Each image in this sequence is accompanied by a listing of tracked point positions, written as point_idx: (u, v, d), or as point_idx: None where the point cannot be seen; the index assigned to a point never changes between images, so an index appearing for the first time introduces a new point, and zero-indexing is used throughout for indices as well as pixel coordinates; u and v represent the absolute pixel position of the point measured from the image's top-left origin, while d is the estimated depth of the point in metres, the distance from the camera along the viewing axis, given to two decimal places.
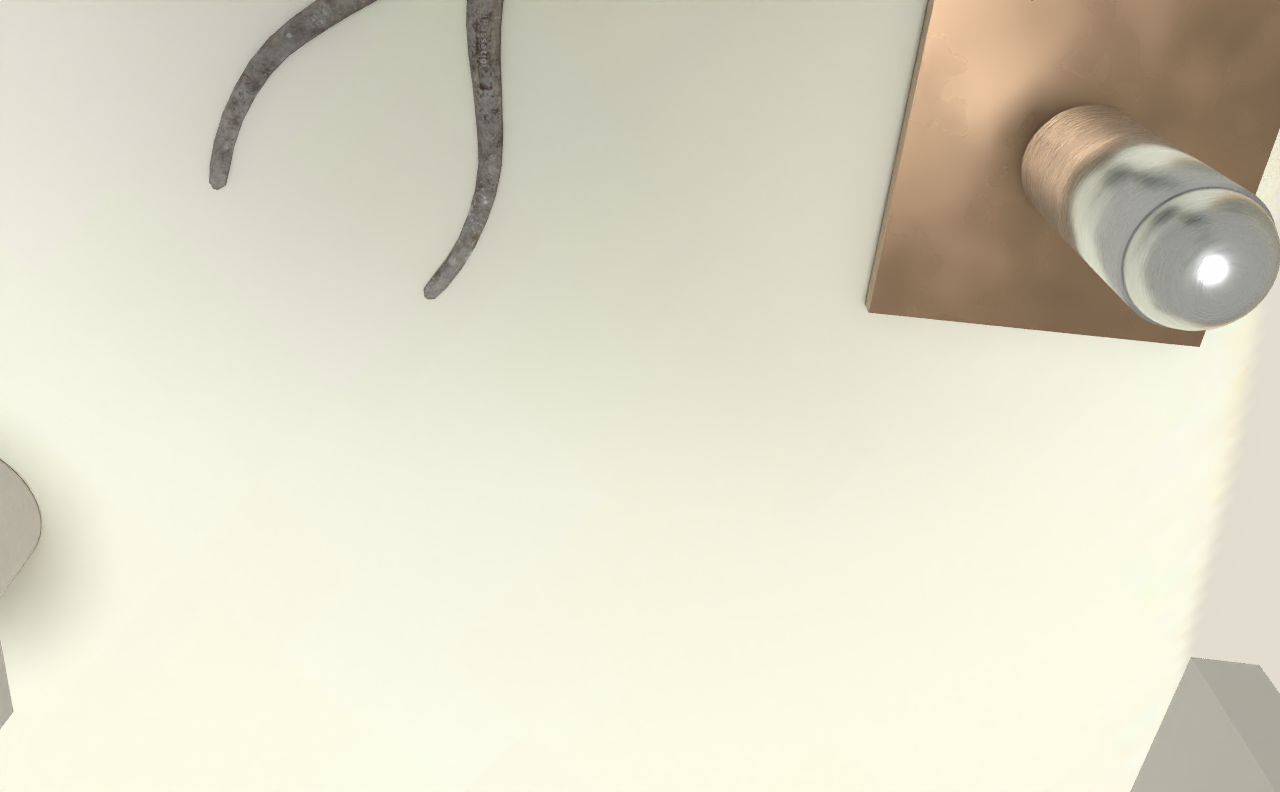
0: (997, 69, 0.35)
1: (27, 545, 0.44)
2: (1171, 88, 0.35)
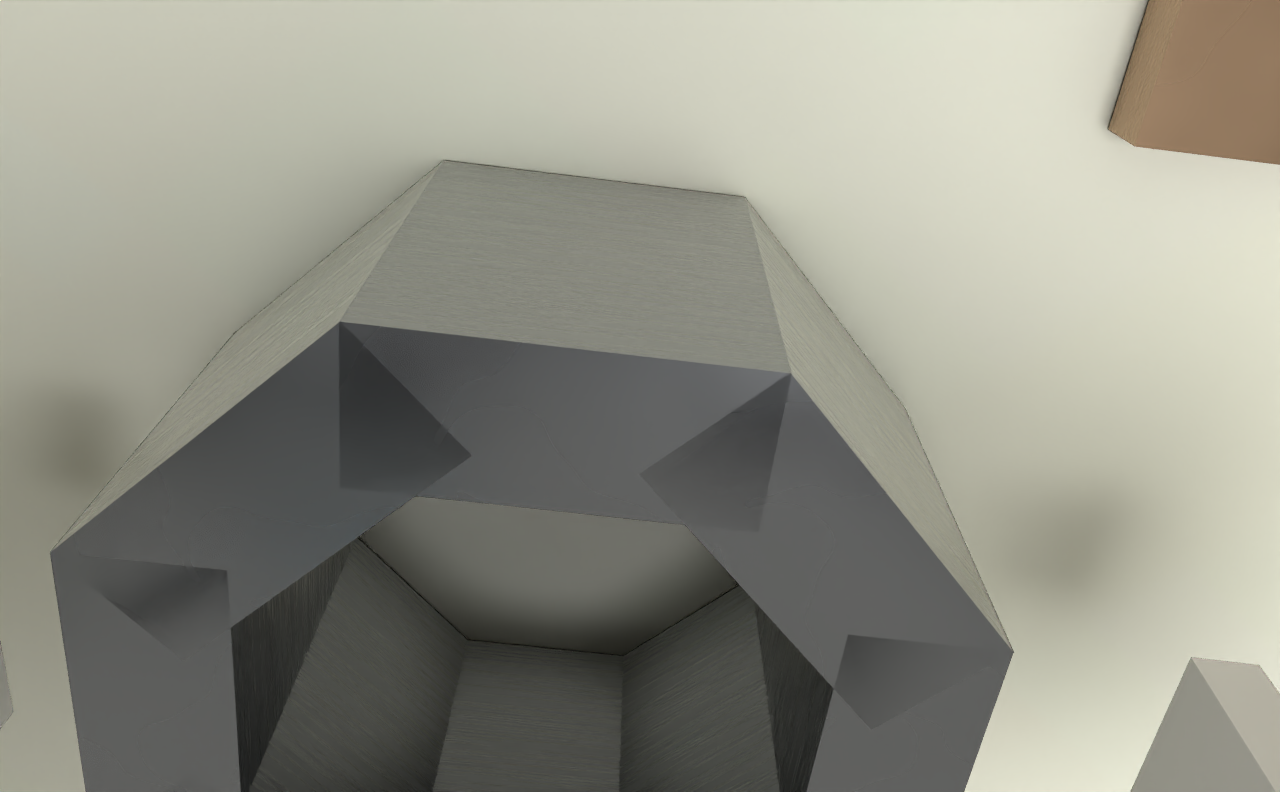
0: None
1: None
2: None
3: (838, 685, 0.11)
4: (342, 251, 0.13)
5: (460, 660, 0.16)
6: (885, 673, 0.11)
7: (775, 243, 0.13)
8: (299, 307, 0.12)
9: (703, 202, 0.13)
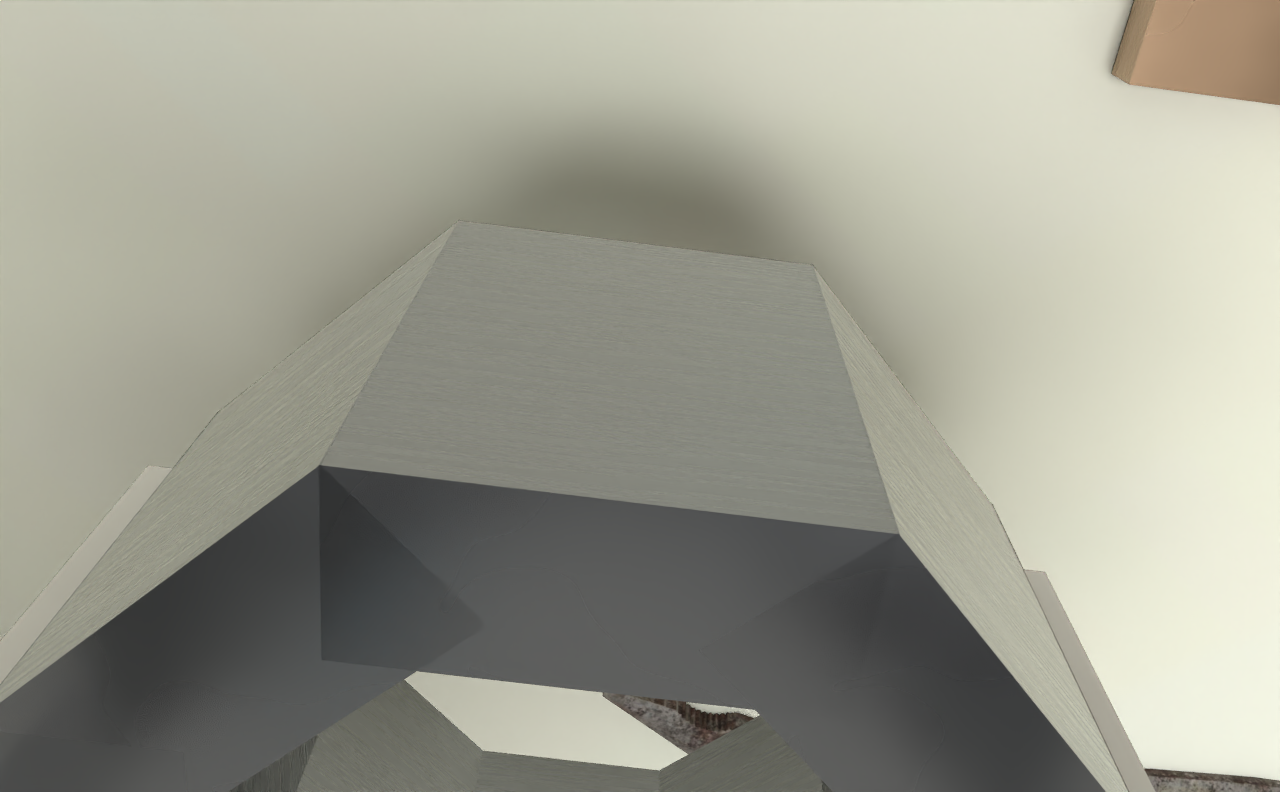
0: None
1: None
2: None
3: None
4: (339, 328, 0.11)
5: (475, 777, 0.14)
6: None
7: (848, 320, 0.11)
8: (283, 407, 0.10)
9: (765, 273, 0.11)
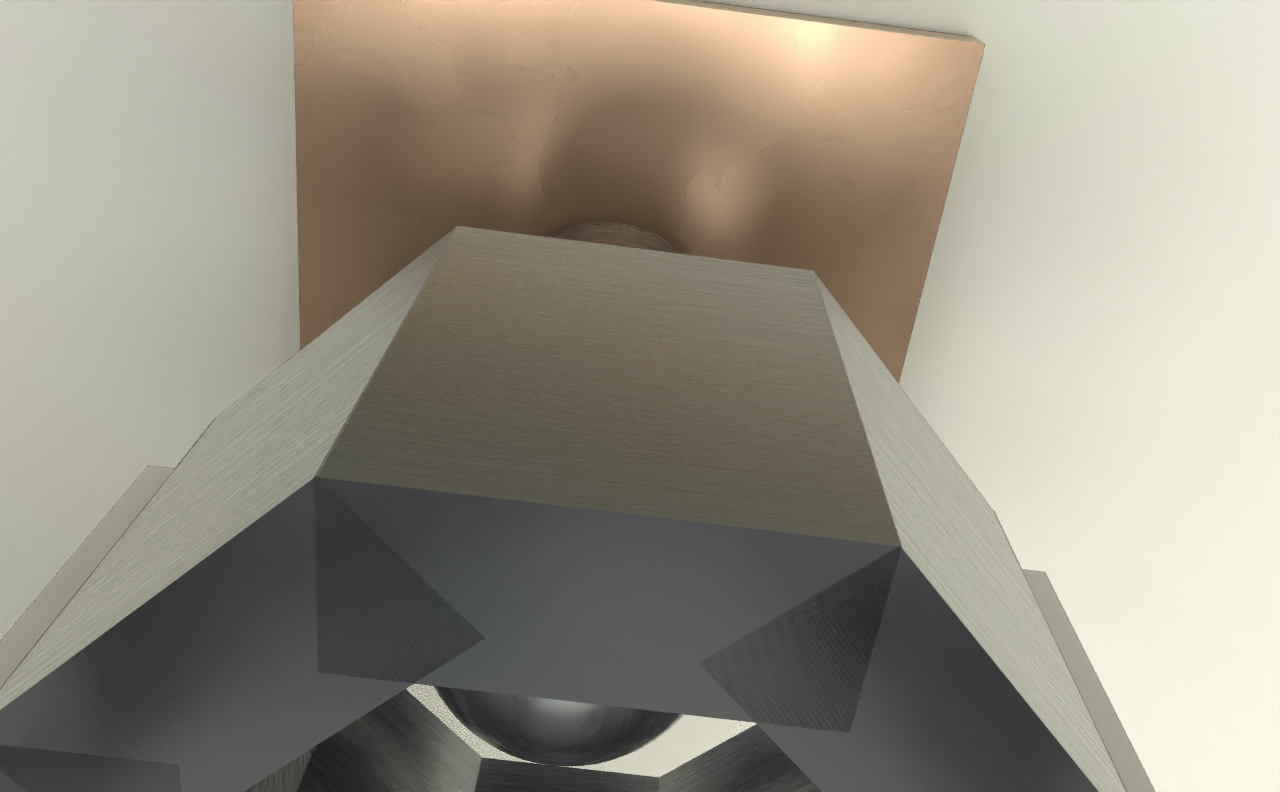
0: None
1: None
2: (470, 197, 0.20)
3: None
4: (336, 334, 0.11)
5: (473, 784, 0.14)
6: None
7: (849, 326, 0.11)
8: (279, 415, 0.10)
9: (766, 280, 0.11)
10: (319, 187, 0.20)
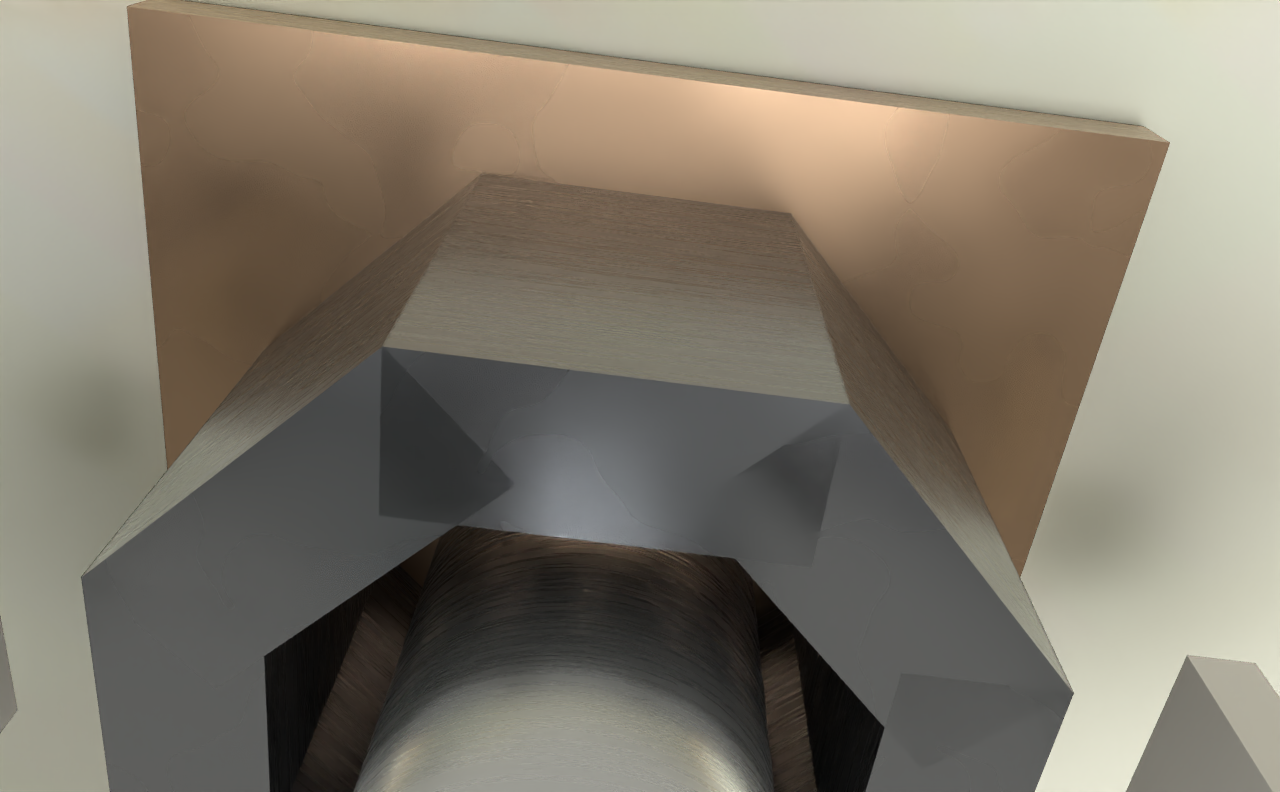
0: None
1: None
2: None
3: (890, 724, 0.10)
4: (378, 266, 0.13)
5: None
6: (939, 713, 0.10)
7: (822, 261, 0.13)
8: (336, 325, 0.11)
9: (749, 219, 0.13)
10: (187, 336, 0.14)
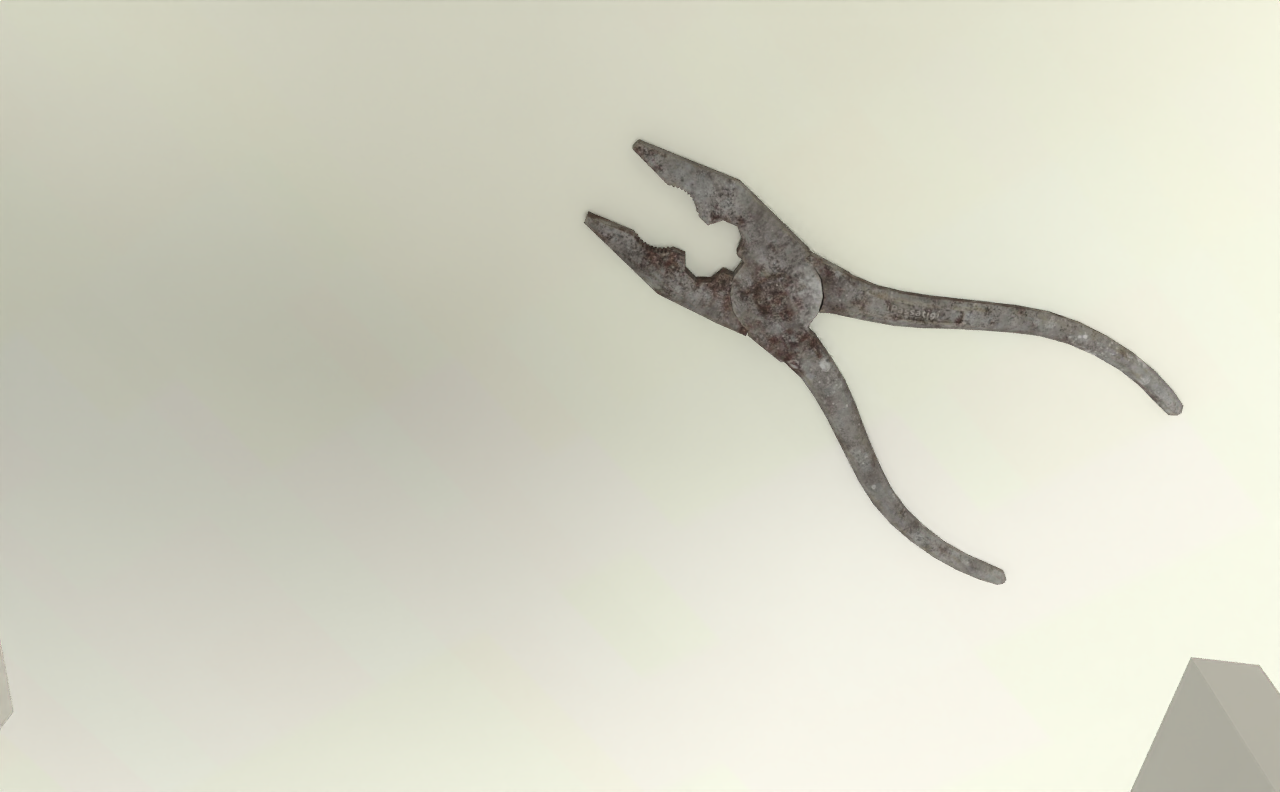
0: None
1: None
2: None
3: None
4: None
5: None
6: None
7: None
8: None
9: None
10: None
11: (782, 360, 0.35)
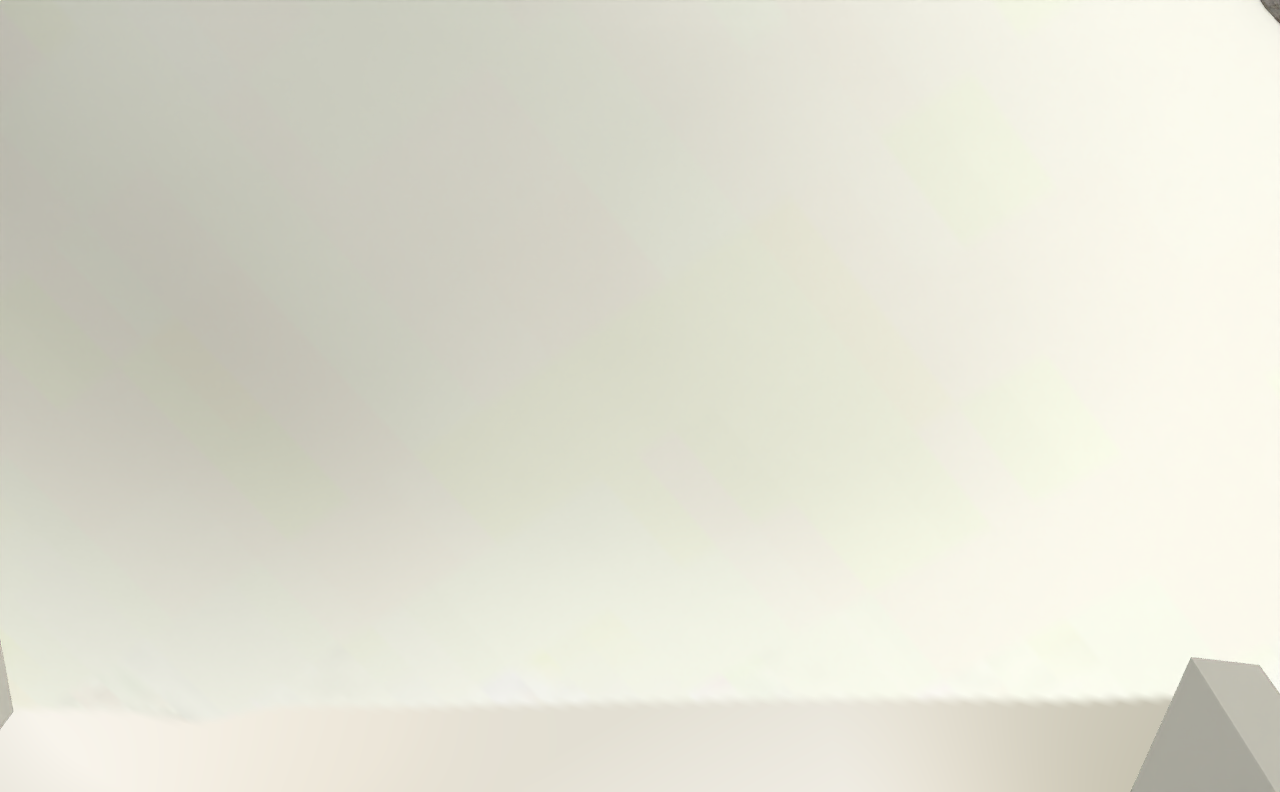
0: None
1: None
2: None
3: None
4: None
5: None
6: None
7: None
8: None
9: None
10: None
11: None
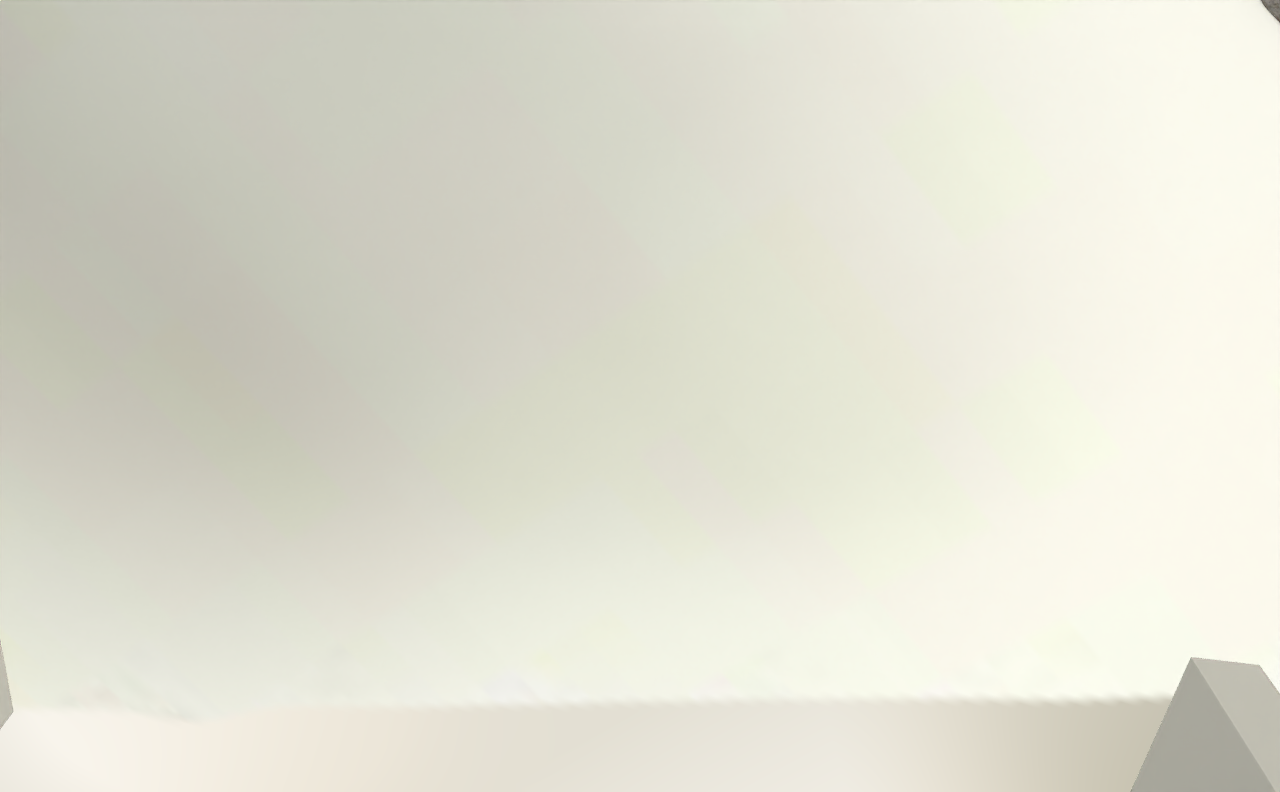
0: None
1: None
2: None
3: None
4: None
5: None
6: None
7: None
8: None
9: None
10: None
11: None
